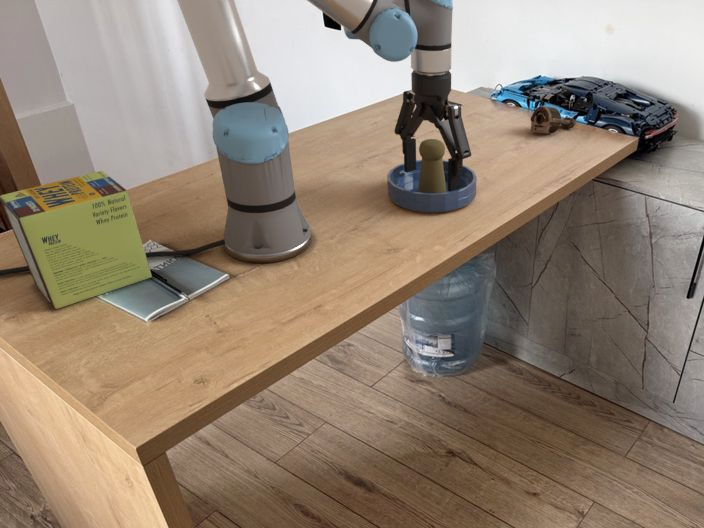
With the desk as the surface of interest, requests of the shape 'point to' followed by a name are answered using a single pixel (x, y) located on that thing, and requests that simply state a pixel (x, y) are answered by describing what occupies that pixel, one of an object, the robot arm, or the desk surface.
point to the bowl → (407, 194)
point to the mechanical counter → (549, 120)
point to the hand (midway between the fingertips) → (431, 179)
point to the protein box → (77, 237)
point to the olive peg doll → (432, 167)
